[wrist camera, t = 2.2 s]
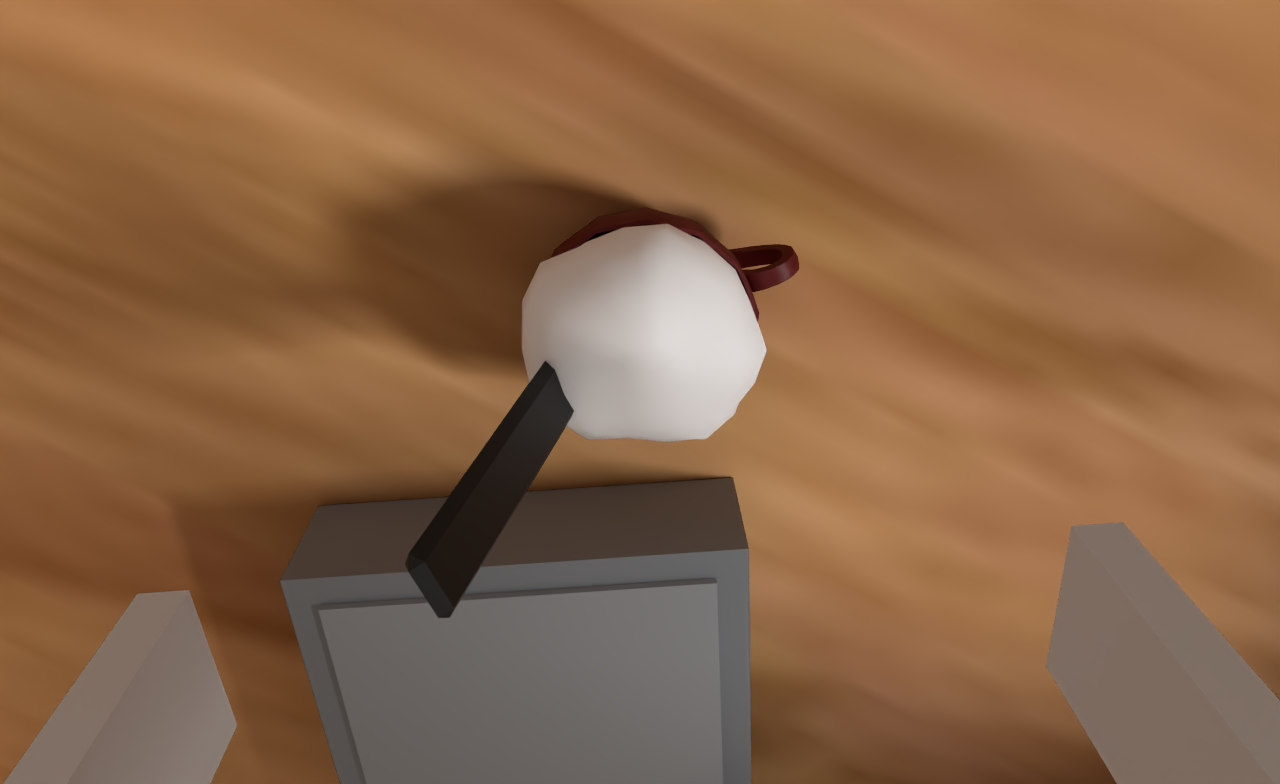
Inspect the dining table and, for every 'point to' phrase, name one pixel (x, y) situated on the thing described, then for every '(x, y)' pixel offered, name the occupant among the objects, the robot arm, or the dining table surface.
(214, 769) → the robot arm
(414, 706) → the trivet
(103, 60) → the dining table surface
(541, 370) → the cocoa
